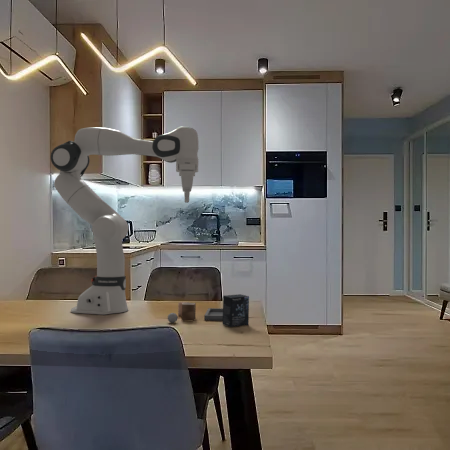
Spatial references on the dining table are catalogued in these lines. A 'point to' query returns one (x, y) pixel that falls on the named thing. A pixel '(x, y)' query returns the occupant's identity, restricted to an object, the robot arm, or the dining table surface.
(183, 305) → the walnut cube
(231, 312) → the box
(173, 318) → the grey ball
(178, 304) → the wooden block
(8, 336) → the dining table surface
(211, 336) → the dining table surface
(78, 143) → the robot arm
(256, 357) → the dining table surface
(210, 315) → the slate tray
